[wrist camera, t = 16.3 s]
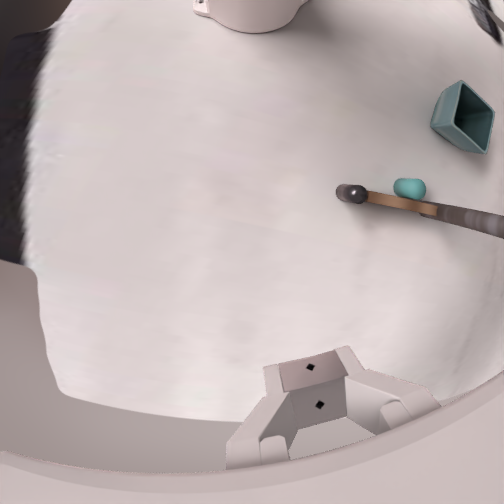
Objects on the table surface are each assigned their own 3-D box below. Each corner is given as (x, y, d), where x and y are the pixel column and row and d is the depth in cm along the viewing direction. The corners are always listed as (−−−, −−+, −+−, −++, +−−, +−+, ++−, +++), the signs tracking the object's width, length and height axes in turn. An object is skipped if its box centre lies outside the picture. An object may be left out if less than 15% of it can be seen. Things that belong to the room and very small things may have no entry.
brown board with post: (353, 202, 42) (457, 228, 19) (355, 185, 42) (462, 196, 19) (429, 217, 43) (537, 249, 20) (431, 202, 43) (541, 225, 20)
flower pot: (453, 156, 42) (487, 155, 33) (418, 130, 40) (451, 123, 32) (463, 117, 40) (495, 111, 31) (429, 90, 39) (460, 78, 30)
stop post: (392, 179, 42) (408, 180, 37) (407, 177, 42) (424, 177, 37) (395, 198, 43) (411, 201, 38) (410, 195, 43) (427, 197, 38)
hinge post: (334, 185, 42) (349, 186, 36) (349, 183, 42) (365, 183, 36) (337, 201, 43) (352, 205, 37) (352, 198, 42) (368, 201, 37)
